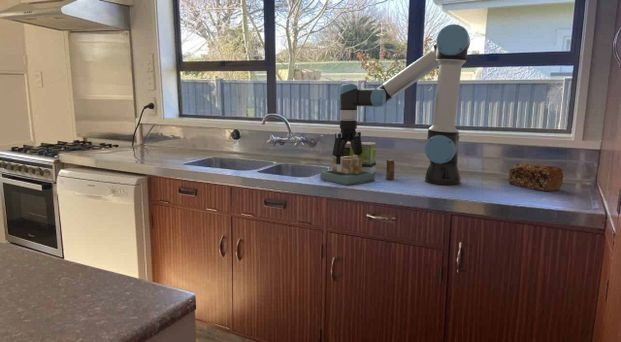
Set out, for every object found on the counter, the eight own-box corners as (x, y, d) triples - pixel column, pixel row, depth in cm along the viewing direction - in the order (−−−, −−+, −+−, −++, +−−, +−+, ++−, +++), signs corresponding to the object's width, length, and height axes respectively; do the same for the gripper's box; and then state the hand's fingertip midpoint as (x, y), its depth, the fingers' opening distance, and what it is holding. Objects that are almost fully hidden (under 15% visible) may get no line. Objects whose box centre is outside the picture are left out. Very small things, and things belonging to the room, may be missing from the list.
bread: (562, 190, 184) (565, 166, 182) (544, 192, 179) (547, 168, 178) (523, 182, 201) (525, 159, 199) (506, 184, 196) (508, 161, 194)
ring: (347, 168, 208) (347, 156, 207) (365, 172, 199) (366, 158, 198) (333, 171, 202) (333, 157, 201) (351, 174, 194) (351, 160, 193)
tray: (374, 180, 201) (374, 173, 201) (347, 185, 191) (347, 177, 190) (346, 175, 214) (346, 167, 214) (320, 179, 204) (320, 171, 203)
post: (393, 178, 206) (394, 160, 204) (389, 179, 204) (390, 160, 202) (389, 178, 208) (390, 159, 206) (385, 178, 206) (386, 159, 204)
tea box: (376, 172, 224) (377, 142, 221) (370, 175, 215) (370, 144, 212) (347, 169, 230) (348, 140, 228) (340, 172, 221) (340, 142, 219)
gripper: (359, 118, 208) (358, 166, 211) (324, 120, 194) (323, 171, 198) (371, 119, 202) (370, 168, 206) (336, 121, 188) (335, 174, 192)
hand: (347, 170), depth 202 cm, fingers closed on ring, 9 cm apart
